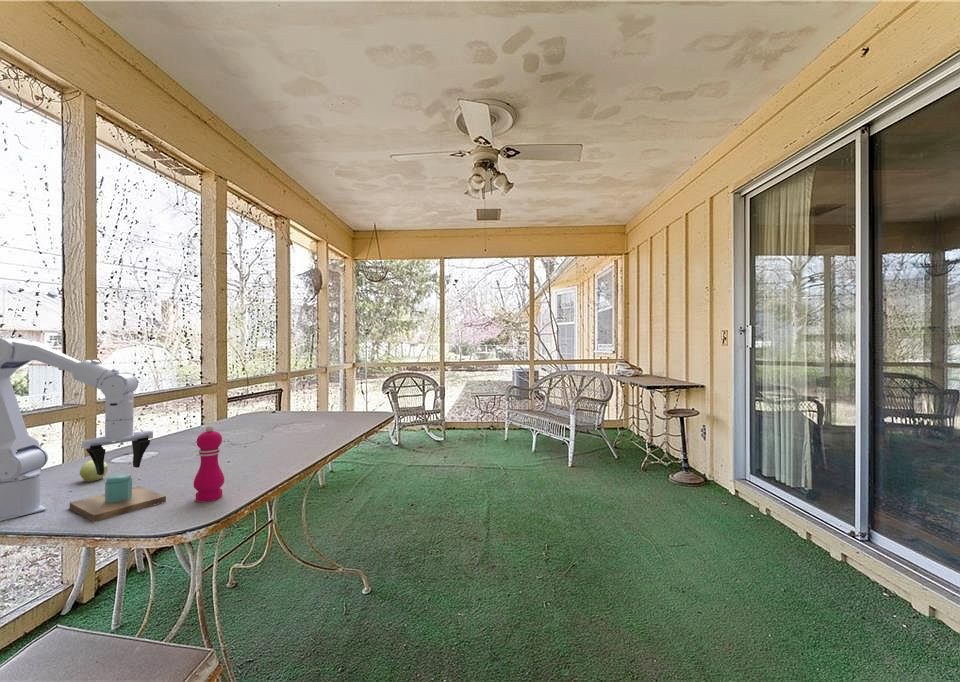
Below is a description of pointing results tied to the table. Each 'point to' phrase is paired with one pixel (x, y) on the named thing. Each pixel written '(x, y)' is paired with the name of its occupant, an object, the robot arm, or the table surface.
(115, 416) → the robot arm
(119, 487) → the cap
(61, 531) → the table surface
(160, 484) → the table surface
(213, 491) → the pepper mill
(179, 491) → the table surface
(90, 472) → the lemon
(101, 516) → the peg board
